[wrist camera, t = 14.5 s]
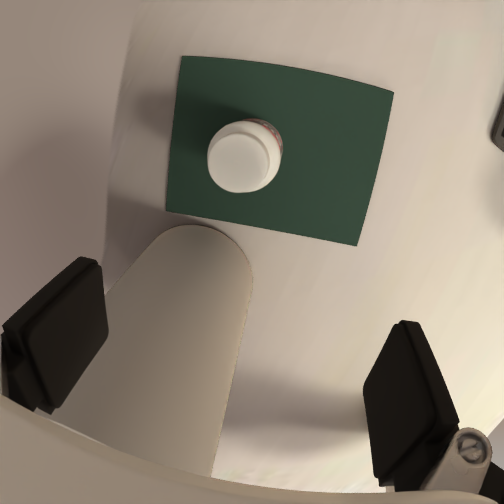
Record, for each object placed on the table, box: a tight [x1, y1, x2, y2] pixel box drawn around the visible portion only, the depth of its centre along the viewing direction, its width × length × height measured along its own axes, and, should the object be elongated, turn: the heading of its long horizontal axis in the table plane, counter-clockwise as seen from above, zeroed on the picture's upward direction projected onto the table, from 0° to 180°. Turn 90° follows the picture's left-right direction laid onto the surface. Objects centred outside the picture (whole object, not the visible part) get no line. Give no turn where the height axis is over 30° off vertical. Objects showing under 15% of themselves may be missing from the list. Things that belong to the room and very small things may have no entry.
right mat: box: [166, 56, 394, 246], centre depth 29 cm, size 20×16×1 cm
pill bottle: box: [207, 119, 283, 193], centre depth 25 cm, size 5×5×10 cm
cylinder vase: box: [34, 225, 253, 477], centre depth 25 cm, size 12×12×25 cm
